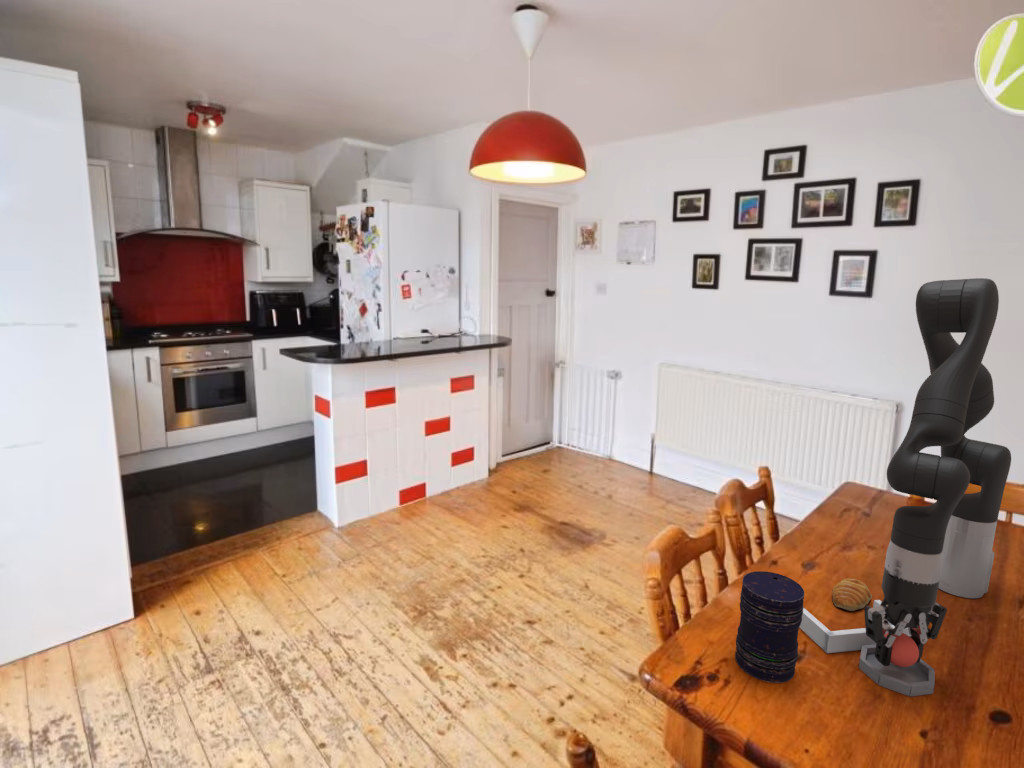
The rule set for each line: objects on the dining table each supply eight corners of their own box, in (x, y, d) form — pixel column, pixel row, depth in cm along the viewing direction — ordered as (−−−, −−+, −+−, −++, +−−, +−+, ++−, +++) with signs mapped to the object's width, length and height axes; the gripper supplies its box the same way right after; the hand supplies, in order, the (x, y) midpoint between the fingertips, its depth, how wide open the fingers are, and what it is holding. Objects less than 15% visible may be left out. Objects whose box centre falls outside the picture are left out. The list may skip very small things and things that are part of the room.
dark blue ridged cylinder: (791, 691, 93) (802, 608, 90) (729, 669, 98) (736, 590, 95) (798, 657, 102) (808, 581, 99) (740, 638, 107) (747, 565, 104)
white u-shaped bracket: (877, 615, 115) (879, 599, 114) (915, 644, 106) (918, 627, 105) (794, 623, 112) (796, 606, 111) (827, 653, 103) (829, 635, 102)
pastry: (860, 618, 114) (863, 601, 113) (824, 605, 118) (826, 588, 118) (872, 600, 120) (874, 583, 120) (837, 588, 125) (839, 572, 124)
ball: (897, 651, 101) (902, 623, 100) (924, 672, 95) (929, 643, 94) (870, 654, 100) (874, 626, 99) (895, 676, 95) (900, 646, 93)
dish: (897, 650, 104) (898, 641, 104) (949, 691, 94) (950, 682, 93) (845, 656, 102) (847, 647, 102) (892, 698, 92) (894, 688, 92)
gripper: (929, 556, 99) (915, 643, 102) (856, 561, 97) (843, 650, 100) (970, 578, 92) (953, 672, 95) (891, 585, 89) (877, 680, 93)
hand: (897, 660), depth 97 cm, fingers closed on ball, 5 cm apart
